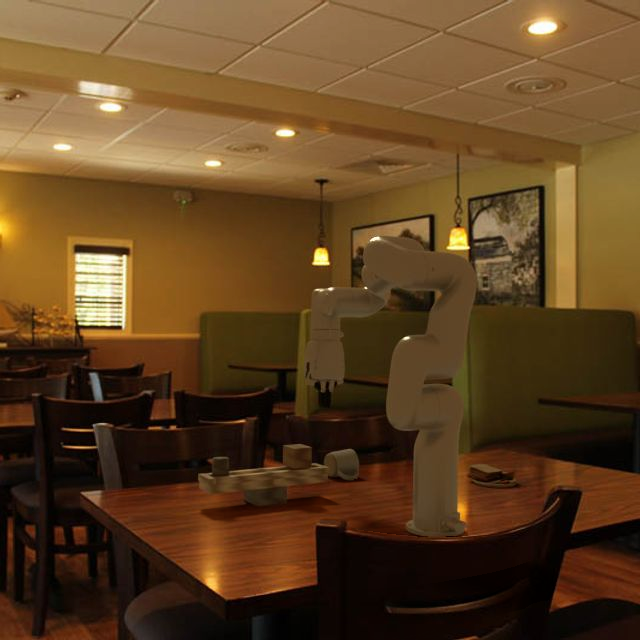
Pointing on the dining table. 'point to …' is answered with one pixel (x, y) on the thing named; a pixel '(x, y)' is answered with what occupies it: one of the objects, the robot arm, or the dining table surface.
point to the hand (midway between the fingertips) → (324, 407)
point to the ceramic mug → (342, 464)
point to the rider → (297, 456)
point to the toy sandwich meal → (491, 476)
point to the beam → (259, 481)
